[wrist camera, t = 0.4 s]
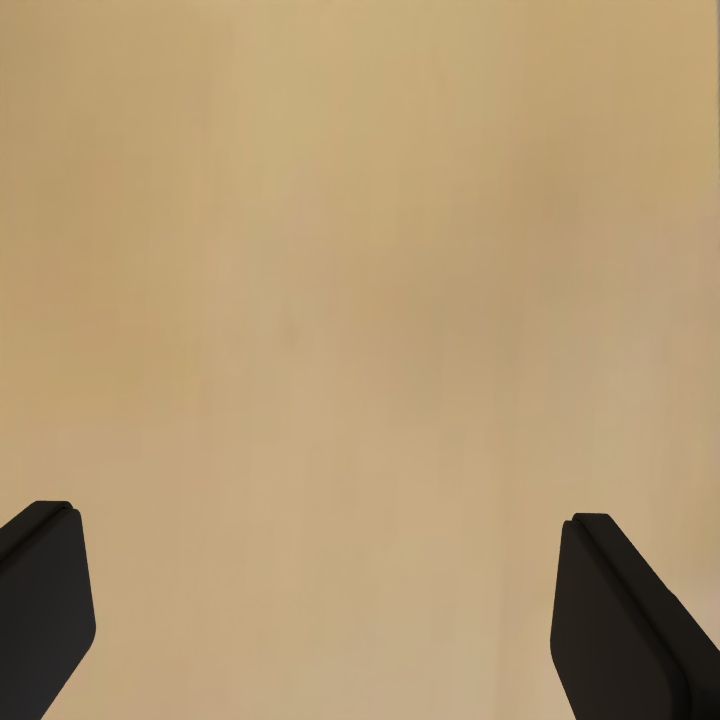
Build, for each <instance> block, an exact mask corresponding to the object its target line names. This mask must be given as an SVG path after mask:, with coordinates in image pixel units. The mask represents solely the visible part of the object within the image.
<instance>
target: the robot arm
mask: <svg viewBox="0 0 720 720" xmlns="http://www.w3.org/2000/svg"><path fill="white" fill-rule="evenodd" d="M95 632H96V622H95V615H94V608H93V600H92V593H91V586H90V578H89V571H88V564H87V556H86V549H85V542H84V534H83V527H82V520H81V515H80V512H79V511H78V510H77V509H73V507H72V505H71V503H69V502H67V501H35V502H33V503H32V504H30V505H29V506H28V507H27V508H25V509H24V510H23V511H22V512H20V513H19V514H18V515H17V516H15V517H14V518H13V519H12V520H10V521H9V522H8V523H7V524H5V525H4V526H3V527H2V528H0V720H41V718H42V717H43V715H44V714H45V712H46V711H47V709H48V708H49V707H50V705H51V704H52V702H53V701H54V699H55V698H56V696H57V695H58V693H59V692H60V691H61V689H62V688H63V686H64V685H65V683H66V682H67V680H68V679H69V677H70V676H71V675H72V673H73V672H74V670H75V669H76V667H77V666H78V664H79V663H80V661H81V660H82V659H83V657H84V656H85V654H86V653H87V651H88V650H89V648H90V647H91V645H92V643H93V640H94V637H95ZM550 649H551V655H552V659H553V662H554V665H555V668H556V670H557V673H558V675H559V678H560V680H561V683H562V685H563V688H564V690H565V693H566V695H567V698H568V700H569V703H570V705H571V708H572V710H573V713H574V715H575V718H576V720H720V651H719V650H718V649H717V647H716V646H715V645H714V644H713V642H712V641H711V640H710V639H709V637H708V636H707V635H706V634H705V632H704V631H703V630H702V629H701V627H700V626H699V625H698V624H697V622H696V621H695V620H694V619H693V617H692V616H691V615H690V614H689V612H688V611H687V610H686V609H685V607H684V606H683V605H682V604H681V602H680V601H679V600H678V599H677V597H676V596H675V595H674V594H673V593H672V592H671V591H670V590H668V588H667V587H666V586H665V585H664V583H663V582H662V581H661V580H660V578H659V577H658V576H657V575H656V573H655V572H654V571H653V570H652V568H651V567H650V566H649V564H648V563H647V562H646V561H645V559H644V558H643V557H642V556H641V554H640V553H639V552H638V551H637V549H636V548H635V547H634V546H633V544H632V543H631V542H630V541H629V539H628V538H627V537H626V536H625V534H624V533H623V532H622V530H621V529H620V528H619V527H618V525H617V524H616V523H615V522H614V520H613V519H612V518H611V517H610V516H609V515H608V514H601V513H576V514H574V516H573V518H572V521H567V520H566V521H565V522H564V524H563V528H562V536H561V545H560V554H559V563H558V572H557V581H556V591H555V600H554V609H553V618H552V627H551V636H550Z"/></svg>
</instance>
